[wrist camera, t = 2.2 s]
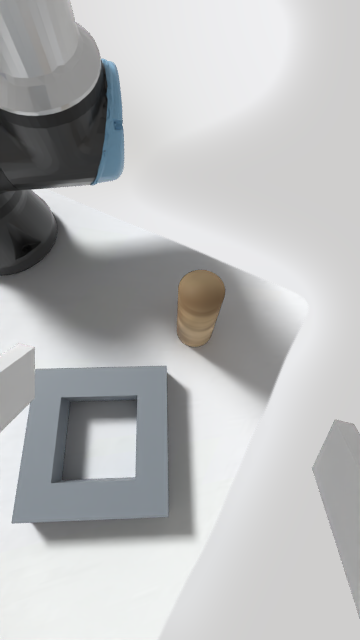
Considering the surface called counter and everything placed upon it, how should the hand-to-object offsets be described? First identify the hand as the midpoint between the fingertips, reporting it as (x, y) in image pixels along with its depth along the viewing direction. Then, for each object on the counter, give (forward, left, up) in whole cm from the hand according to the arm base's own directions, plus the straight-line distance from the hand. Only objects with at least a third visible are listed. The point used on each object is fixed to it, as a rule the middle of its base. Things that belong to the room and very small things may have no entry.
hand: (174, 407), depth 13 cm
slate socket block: (0, -9, -27) cm, 28 cm away
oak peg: (-14, +3, -27) cm, 30 cm away
